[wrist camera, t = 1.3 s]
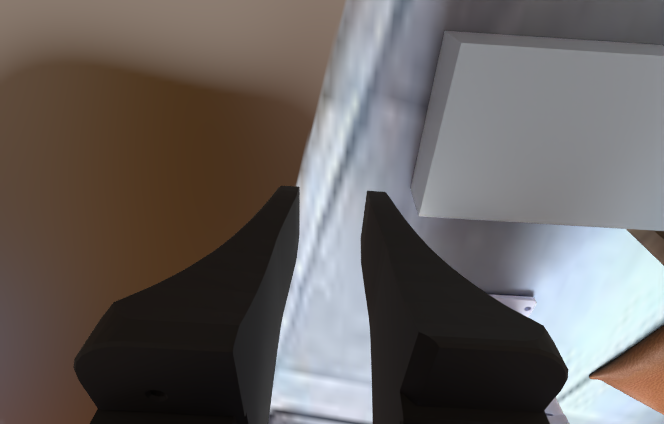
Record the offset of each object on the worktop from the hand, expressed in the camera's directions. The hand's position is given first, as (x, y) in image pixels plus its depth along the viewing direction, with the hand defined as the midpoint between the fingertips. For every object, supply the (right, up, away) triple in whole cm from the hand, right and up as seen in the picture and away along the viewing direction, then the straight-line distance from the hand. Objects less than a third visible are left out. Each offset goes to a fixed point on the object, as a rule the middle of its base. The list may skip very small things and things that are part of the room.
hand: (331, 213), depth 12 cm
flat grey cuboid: (+12, +5, +8) cm, 15 cm away
